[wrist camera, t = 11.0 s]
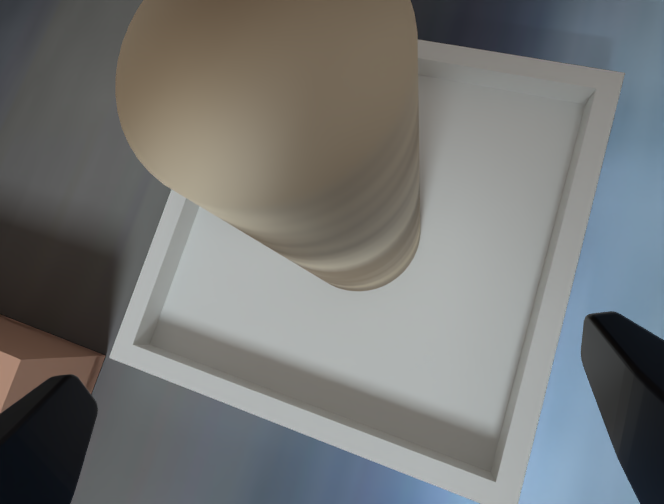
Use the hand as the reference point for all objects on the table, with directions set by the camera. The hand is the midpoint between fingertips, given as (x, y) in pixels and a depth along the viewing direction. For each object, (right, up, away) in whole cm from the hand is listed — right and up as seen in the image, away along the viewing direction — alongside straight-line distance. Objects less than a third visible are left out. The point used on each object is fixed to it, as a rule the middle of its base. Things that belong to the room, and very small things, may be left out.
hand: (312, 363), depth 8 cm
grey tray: (+1, +3, +11) cm, 12 cm away
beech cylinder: (+1, +3, +11) cm, 11 cm away
